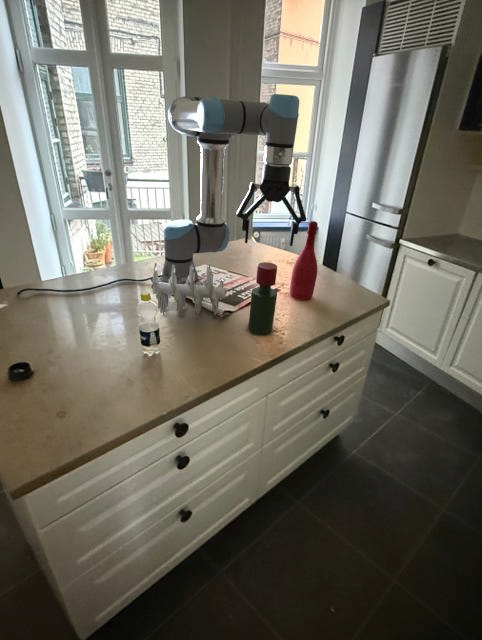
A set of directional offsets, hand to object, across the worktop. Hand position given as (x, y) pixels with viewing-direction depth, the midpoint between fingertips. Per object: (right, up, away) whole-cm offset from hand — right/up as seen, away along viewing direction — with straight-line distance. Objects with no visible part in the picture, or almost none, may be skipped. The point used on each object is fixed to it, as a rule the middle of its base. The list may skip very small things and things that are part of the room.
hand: (268, 243), depth 112 cm
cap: (0, -11, +6) cm, 12 cm away
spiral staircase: (-27, -18, +22) cm, 39 cm away
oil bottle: (-2, -25, +16) cm, 29 cm away
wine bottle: (+16, -9, +41) cm, 45 cm away
